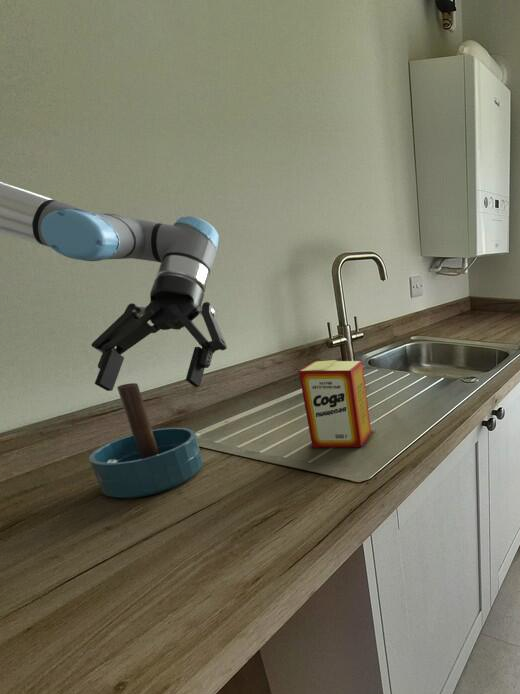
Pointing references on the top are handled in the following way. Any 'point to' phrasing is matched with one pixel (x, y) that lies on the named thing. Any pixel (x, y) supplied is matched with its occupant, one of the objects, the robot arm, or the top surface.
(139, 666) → the top surface
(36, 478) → the top surface
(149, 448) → the stirring stick
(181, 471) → the bowl
